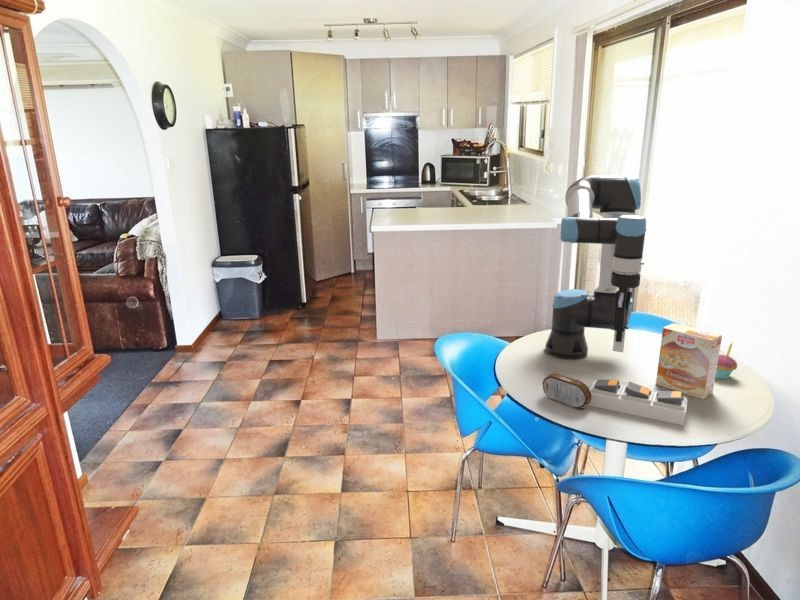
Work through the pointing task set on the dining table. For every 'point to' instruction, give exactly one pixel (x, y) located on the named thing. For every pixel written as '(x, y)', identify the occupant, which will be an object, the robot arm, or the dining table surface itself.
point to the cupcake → (725, 365)
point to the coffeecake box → (688, 360)
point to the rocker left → (607, 385)
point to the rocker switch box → (638, 405)
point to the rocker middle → (637, 390)
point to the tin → (566, 390)
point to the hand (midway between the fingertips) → (618, 350)
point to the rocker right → (670, 397)
